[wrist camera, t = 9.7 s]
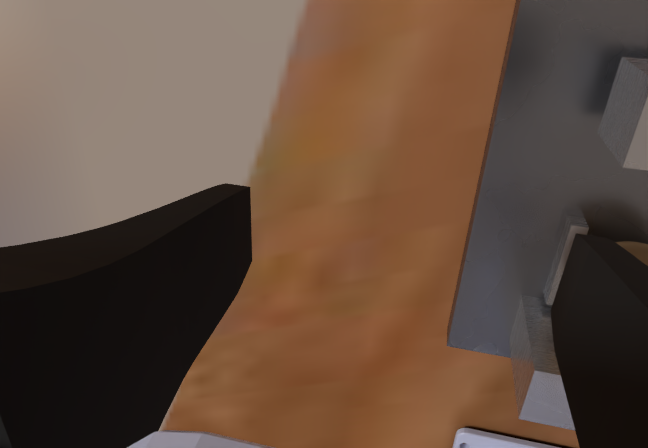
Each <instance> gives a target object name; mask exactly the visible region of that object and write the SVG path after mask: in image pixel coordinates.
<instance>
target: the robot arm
mask: <svg viewBox="0 0 648 448" xmlns="http://www.w3.org/2000/svg"><path fill="white" fill-rule="evenodd" d="M251 262H252V241H251V204H250V187H247V186H240V185H233V184H222V185H217V186H214V187H211V188H208V189H206V190H203V191H200V192H198V193H195V194H193V195H190V196H188V197H185V198H183V199H180V200H178V201H175V202H173V203H170V204H168V205H165V206H162V207H160V208H157V209H155V210H152V211H149V212H146V213H143V214H140V215H137V216H135V217H132V218H129V219H126V220H123V221H120V222H117V223H114V224H111V225H108V226H104V227H100V228H97V229H93V230H89V231H85V232H81V233H77V234H73V235H69V236H65V237H59V238H54V239H48V240H43V241H38V242H33V243H27V244H22V245H15V246H8V247H1V248H0V448H274V447H270V446H266V445H261V444H257V443H253V442H248V441H244V440H240V439H236V438H231V437H227V436H223V435H218V434H214V433H210V432H196V431H170V430H164V431H158V430H159V428H160V426H161V424H162V421H163V419H164V417H165V415H166V413H167V411H168V409H169V407H170V405H171V403H172V401H173V399H174V397H175V395H176V393H177V391H178V389H179V387H180V385H181V383H182V381H183V379H184V377H185V375H186V374H187V372H188V370H189V369H190V367H191V365H192V363H193V362H194V360H195V359H196V357H197V356H198V354H199V353H200V351H201V349H202V348H203V346H204V345H205V343H206V342H207V340H208V339H209V337H210V336H211V334H212V333H213V331H214V329H215V328H216V326H217V325H218V323H219V322H220V320H221V319H222V317H223V316H224V314H225V312H226V311H227V309H228V308H229V306H230V305H231V303H232V301H233V300H234V298H235V297H236V295H237V293H238V291H239V289H240V287H241V285H242V283H243V280H244V278H245V276H246V274H247V271H248V269H249V267H250V264H251ZM551 323H552V334H553V342H554V351H555V355H556V359H557V363H558V367H559V371H560V374H561V378H562V382H563V386H564V390H565V393H566V397H567V401H568V405H569V408H570V412H571V416H572V420H573V423H574V427H575V431H576V435H577V438H578V442H579V447H580V448H648V266H647V265H646V264H644V263H643V262H642V261H640V260H639V259H638V258H636V257H635V256H634V255H632V254H631V253H630V252H628V251H627V250H626V249H624V248H623V247H621V246H620V245H618V244H617V243H615V242H614V241H612V240H610V239H609V238H606V237H599V236H592V235H585V234H578V233H576V234H575V237H574V240H573V244H572V247H571V250H570V253H569V256H568V259H567V262H566V265H565V268H564V271H563V274H562V277H561V280H560V283H559V286H558V289H557V292H556V295H555V298H554V301H553V305H552V308H551ZM463 443H466V444H463ZM453 448H560V447H555V446H551V445H546V444H541V443H536V442H532V441H527V440H522V439H517V438H513V437H508V436H503V435H498V434H494V433H489V432H484V431H479V430H475V429H470V428H461V429H459V430H458V431H457V432H456V436H455V440H454V444H453Z"/></svg>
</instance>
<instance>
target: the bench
mask: <svg viewBox="0 0 648 448" xmlns="http://www.w3.org/2000/svg"><path fill="white" fill-rule="evenodd" d="M621 57H632V58H643V59H648V0H516V4H515V9H514V14H513V18H512V23H511V28H510V33H509V38H508V42H507V47H506V52H505V57H504V61H503V66H502V71H501V76H500V81H499V85H498V90H497V95H496V100H495V104H494V109H493V114H492V119H491V124H490V128H489V133H488V138H487V143H486V147H485V152H484V157H483V162H482V167H481V171H480V176H479V181H478V186H477V190H476V195H475V200H474V205H473V210H472V214H471V219H470V224H469V229H468V233H467V238H466V243H465V248H464V252H463V257H462V262H461V267H460V272H459V276H458V281H457V286H456V291H455V295H454V300H453V305H452V310H451V315H450V319H449V324H448V329H447V346H450V347H455V348H461V349H466V350H471V351H477V352H482V353H488V354H493V355H498V356H504V357H509V358H511V362H512V370H513V378H514V386H515V393H516V401H517V409H518V417H519V419H522V420H527V421H532V422H537V423H541V424H546V425H551V426H556V427H561V428H566V429H571V430H575V427H574V423H573V420H572V416H571V412H570V408H569V405H568V401H567V397H566V393H565V390H564V386H563V382H562V378H561V374H560V371H559V367H558V363H557V359H556V355H555V351H554V342H553V334H552V323H551V308H552V305H553V301H554V298H555V295H556V292H557V289H558V286H559V283H560V280H561V277H562V274H563V271H564V268H565V265H566V262H567V259H568V256H569V253H570V250H571V247H572V244H573V240H574V237H575V234H576V233H578V234H585V235H592V236H599V237H606V238H609V239H610V240H612V241H614V242H621V241H633V242H640V243H645V244H648V170H639V169H631V168H623V167H622V166H621V165H620V163H619V162H618V160H617V159H616V158H615V156H614V155H613V154H612V152H611V151H610V149H609V148H608V147H607V145H606V144H605V143H604V141H603V140H602V138H601V137H600V136H599V134H598V130H599V127H600V123H601V120H602V117H603V114H604V111H605V108H606V104H607V101H608V98H609V95H610V92H611V89H612V86H613V82H614V79H615V76H616V73H617V70H618V67H619V63H620V60H621Z"/></svg>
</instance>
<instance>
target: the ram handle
mask: <svg viewBox="0 0 648 448" xmlns="http://www.w3.org/2000/svg"><path fill="white" fill-rule="evenodd" d="M598 134H599V136H600V137H601V138H602V140H603V141H604V143H605V144H606V145H607V147H608V148H609V149H610V151H611V152H612V154H613V155H614V156H615V158H616V159H617V160H618V162H619V163H620V165H621V166H622V167H623V168H631V169H639V170H648V59H643V58H632V57H621V60H620V63H619V67H618V70H617V73H616V76H615V79H614V82H613V86H612V89H611V92H610V95H609V98H608V101H607V104H606V108H605V111H604V114H603V117H602V120H601V123H600V127H599V130H598Z"/></svg>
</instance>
